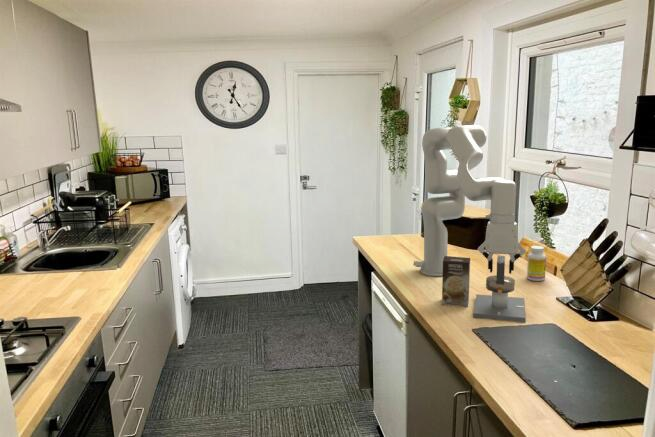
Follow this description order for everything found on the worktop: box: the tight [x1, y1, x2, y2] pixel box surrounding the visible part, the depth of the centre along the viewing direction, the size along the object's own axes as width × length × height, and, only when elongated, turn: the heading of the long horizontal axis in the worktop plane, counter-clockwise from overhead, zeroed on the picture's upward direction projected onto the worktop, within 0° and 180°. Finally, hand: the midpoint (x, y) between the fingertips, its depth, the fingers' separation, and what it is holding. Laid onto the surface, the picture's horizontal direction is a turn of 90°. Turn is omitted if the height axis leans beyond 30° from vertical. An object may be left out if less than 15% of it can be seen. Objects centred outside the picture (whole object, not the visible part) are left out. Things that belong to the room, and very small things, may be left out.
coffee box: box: [441, 255, 471, 308], centre depth 180 cm, size 9×6×16 cm
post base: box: [472, 291, 527, 323], centre depth 173 cm, size 16×18×7 cm
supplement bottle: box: [526, 245, 547, 282], centre depth 202 cm, size 7×7×13 cm
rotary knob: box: [485, 255, 516, 294], centre depth 170 cm, size 12×9×10 cm
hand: (500, 271), depth 171 cm, fingers open, 5 cm apart
